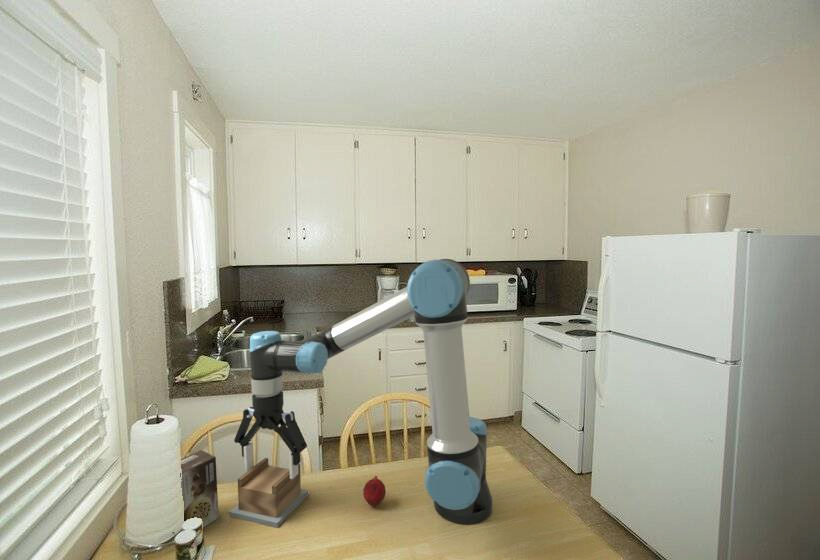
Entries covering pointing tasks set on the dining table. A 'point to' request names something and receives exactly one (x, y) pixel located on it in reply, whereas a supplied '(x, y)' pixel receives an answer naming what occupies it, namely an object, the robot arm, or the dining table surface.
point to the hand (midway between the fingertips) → (271, 472)
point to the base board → (266, 519)
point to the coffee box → (199, 487)
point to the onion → (374, 491)
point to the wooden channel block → (267, 489)
